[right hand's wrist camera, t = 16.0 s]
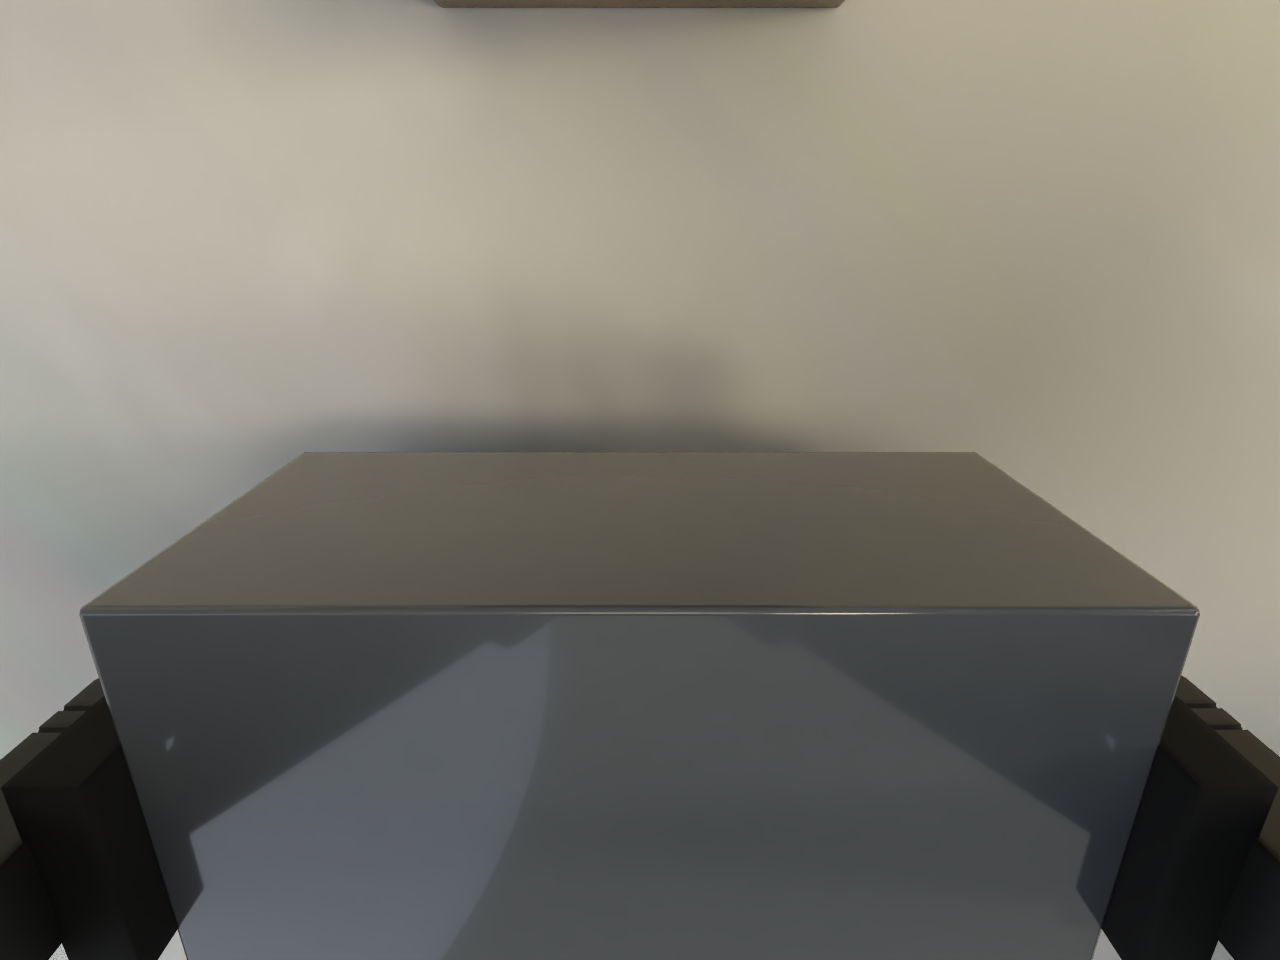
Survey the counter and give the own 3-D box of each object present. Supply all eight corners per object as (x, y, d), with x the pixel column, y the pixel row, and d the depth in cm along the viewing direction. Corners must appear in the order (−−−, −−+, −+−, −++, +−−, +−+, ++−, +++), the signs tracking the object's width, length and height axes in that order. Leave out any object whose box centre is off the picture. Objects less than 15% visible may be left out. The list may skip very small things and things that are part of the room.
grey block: (977, 451, 12) (1206, 608, 7) (925, 747, 14) (1075, 1025, 9) (302, 450, 12) (72, 608, 7) (354, 747, 14) (204, 1025, 9)
